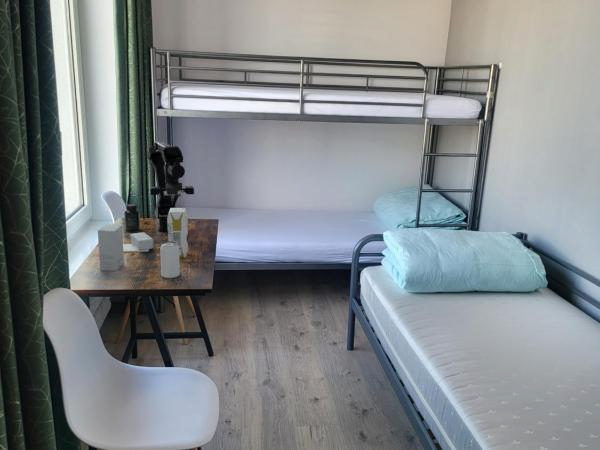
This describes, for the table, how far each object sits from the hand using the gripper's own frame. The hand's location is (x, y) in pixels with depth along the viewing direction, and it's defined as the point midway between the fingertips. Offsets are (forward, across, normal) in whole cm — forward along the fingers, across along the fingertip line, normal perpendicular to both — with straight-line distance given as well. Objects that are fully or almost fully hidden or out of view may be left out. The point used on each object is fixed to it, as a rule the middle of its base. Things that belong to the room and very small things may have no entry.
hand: (173, 209), depth 225 cm
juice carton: (+13, +2, -27) cm, 30 cm away
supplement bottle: (+13, -19, +16) cm, 28 cm away
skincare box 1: (+13, -22, -38) cm, 46 cm away
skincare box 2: (+10, -15, -8) cm, 20 cm away
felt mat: (+13, -16, -15) cm, 25 cm away
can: (+13, -1, -50) cm, 52 cm away
